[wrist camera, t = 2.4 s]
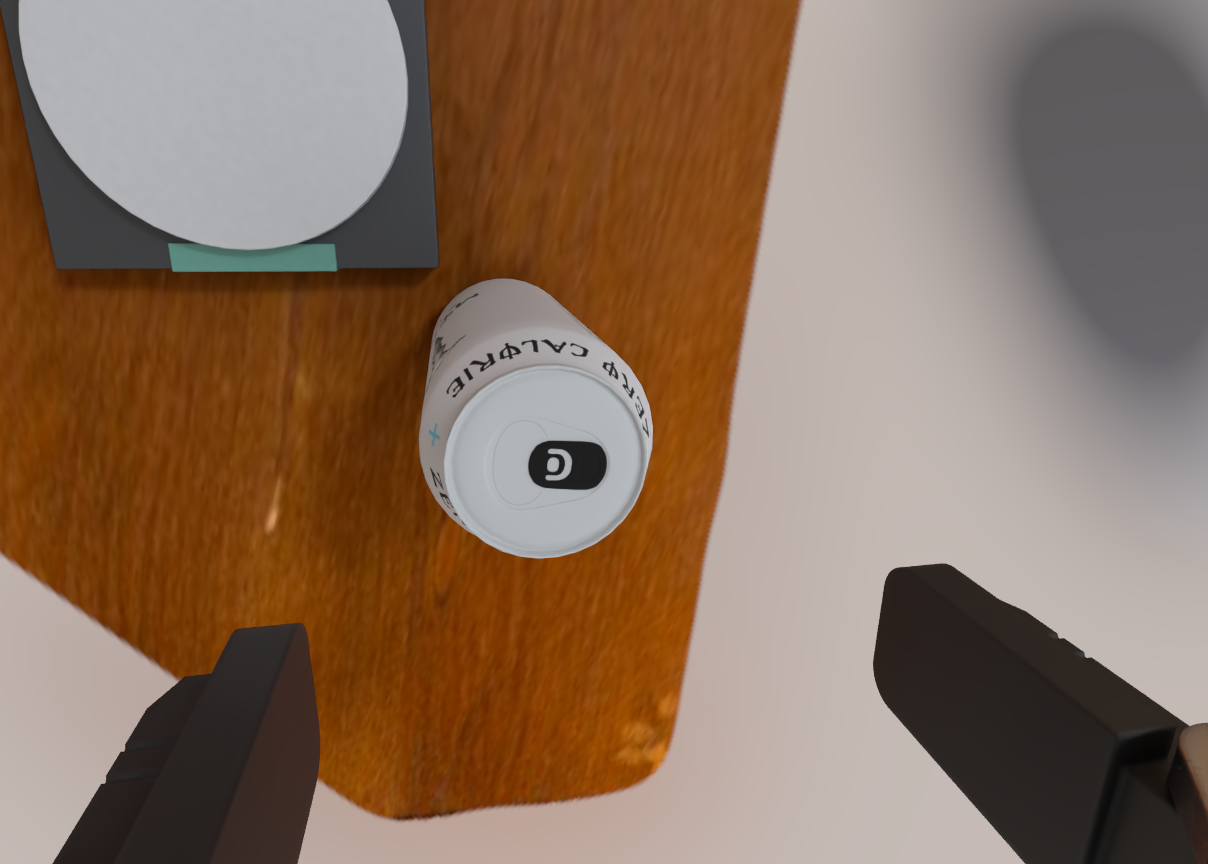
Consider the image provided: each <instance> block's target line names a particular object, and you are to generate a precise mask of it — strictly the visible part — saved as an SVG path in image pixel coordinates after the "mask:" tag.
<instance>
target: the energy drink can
mask: <svg viewBox="0 0 1208 864" xmlns="http://www.w3.org/2000/svg"><path fill="white" fill-rule="evenodd" d="M652 437H653V425H652V419H651V412H650V406H649V404H648V401H647V398H646V396H645V393H644V390H643V388H642V386H641V384H640V382H639V381H638V379H637V378H636V376H635V375H634V373H633V372H632V370H631V368H630V367H629V366H628V365H627V364H626V363H625V362H624V361H623V360H622V359H621V358H620V357H619V356H618V355H617V354H616V353H615V352H614V351H613V350H612V349H611V348H609V347H608V346H607V345H606V344H605V343H604V342H603V341H601V340H600V339H599V338H598V337H597V336H596V335H595V334H594V333H592V332H591V331H590V330H589V329H588V328H587V327H586V326H584V325H583V324H582V323H581V322H580V321H579V320H578V319H577V318H575V317H574V316H573V315H572V314H571V313H570V312H569V311H567V310H566V309H565V308H564V307H563V306H562V305H561V304H560V303H558V302H557V301H556V300H555V299H554V298H553V297H552V296H550V295H549V294H548V293H546V292H545V291H543V290H542V289H540V288H539V287H537V286H534V285H532V284H529V283H527V282H524V281H519V280H514V279H493V280H488V281H483V282H480V283H477V284H475V285H473V286H470V287H468V288H467V289H465V290H464V291H462V292H461V293H459V294H458V295H456V296H455V297H454V298H453V299H452V300H451V302H450V303H449V304H448V305H447V306H446V307H445V309H444V310H443V312H442V313H441V315H440V317H439V318H438V321H437V323H436V326H435V329H434V332H433V338H432V344H431V351H430V359H429V366H428V373H427V381H426V388H425V395H424V403H423V410H422V417H421V425H420V432H419V449H420V461H421V465H422V468H423V472H424V475H425V479H426V482H427V484H428V486H429V487H430V489H431V491H432V493H433V495H434V497H435V499H436V501H437V502H438V503H439V504H440V505H441V507H442V508H443V509H444V510H445V511H446V513H447V514H448V515H449V516H450V517H451V518H452V519H453V520H454V521H456V522H457V523H458V524H459V525H461V526H462V527H463V528H464V529H466V530H467V531H468V532H470V533H472V534H474V535H476V536H477V537H479V538H480V539H481V540H482V541H484V542H485V543H487V544H489V545H491V546H493V547H495V548H497V549H499V550H501V551H503V552H507V553H510V554H513V555H517V556H521V557H531V558H550V557H560V556H564V555H567V554H571V553H575V552H578V551H580V550H582V549H585V548H587V547H589V546H591V545H593V544H595V543H597V542H598V541H600V540H601V539H603V538H604V537H605V536H607V535H608V534H610V533H611V532H612V531H613V530H614V529H615V528H616V527H617V526H618V525H619V524H620V523H621V522H622V521H623V520H624V519H625V517H626V516H627V515H628V513H629V512H630V510H631V509H632V508H633V506H634V505H635V503H636V500H637V498H638V496H639V494H640V492H641V489H642V487H643V483H644V479H645V475H646V471H647V467H648V463H649V459H650V455H651V451H652Z"/></svg>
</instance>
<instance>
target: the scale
mask: <svg viewBox="0 0 1208 864" xmlns="http://www.w3.org/2000/svg"><path fill="white" fill-rule="evenodd" d="M0 8H1V13H2V18H3V22H4V27H5V31H6V36H7V41H8V45H9V50H10V55H11V59H12V64H13V69H14V73H15V78H16V83H17V87H18V92H19V97H20V101H21V106H22V111H23V115H24V120H25V125H26V129H27V134H28V139H29V143H30V148H31V153H32V157H33V162H34V167H35V171H36V176H37V181H38V185H39V190H40V195H41V199H42V204H43V209H44V213H45V218H46V223H47V227H48V232H49V237H50V241H51V246H52V251H53V255H54V260H55V265H56V268H57V269H172V271H173V272H297V271H338V270H339V269H341V268H438V267H439V245H438V227H437V208H436V190H435V172H434V154H433V135H432V117H431V99H430V80H429V62H428V44H427V26H426V7H425V0H0Z"/></svg>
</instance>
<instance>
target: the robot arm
mask: <svg viewBox="0 0 1208 864" xmlns="http://www.w3.org/2000/svg"><path fill="white" fill-rule="evenodd" d="M873 670H874V677H875V681H876V684H877V688H878V690H879V693H880V695H881V697H882V699H883V701H884V702H885V704H886V705H887V706H888V708H890V710H891V711H892V712H893V713H894V714H895V716H896V717H897V718H898V719H899V720H900V721H901V722H902V724H903V725H904V726H905V727H906V728H907V729H908V730H909V731H910V733H911V734H912V735H913V736H914V737H915V738H916V739H917V741H918V742H919V743H920V744H921V745H922V746H923V748H924V749H925V750H926V751H927V752H928V753H929V754H930V755H931V757H932V758H933V759H934V760H935V761H936V762H937V763H938V765H939V766H940V767H941V768H942V769H943V770H944V771H945V773H946V774H947V775H948V776H949V777H950V778H951V779H952V781H953V782H954V783H955V784H956V785H957V786H958V787H959V788H960V790H961V791H962V792H963V793H964V794H965V795H966V796H967V798H968V799H969V800H970V801H971V802H972V803H973V805H975V807H976V808H977V809H978V810H979V811H980V812H981V814H982V815H983V816H984V817H985V818H986V819H987V820H988V822H989V823H990V824H991V825H992V826H993V827H994V828H995V830H996V831H997V832H998V833H999V834H1000V835H1001V836H1002V838H1003V839H1004V840H1005V841H1006V842H1007V843H1008V844H1009V845H1010V846H1011V848H1012V849H1013V850H1014V851H1015V852H1016V853H1017V855H1018V856H1019V857H1020V858H1021V859H1022V860H1023V862H1024V863H1025V864H1208V723H1201V724H1195V725H1192V726H1189V725H1187V724H1186V723H1184V722H1183V721H1181V720H1180V719H1179V718H1177V717H1175V716H1174V715H1173V714H1171V713H1170V712H1169V711H1167V710H1166V709H1164V708H1163V707H1161V706H1160V705H1159V704H1157V703H1156V702H1154V701H1152V700H1151V699H1150V698H1149V697H1147V696H1146V695H1144V694H1143V693H1141V692H1140V691H1139V690H1137V689H1136V688H1134V687H1133V686H1131V685H1130V684H1129V683H1127V682H1126V681H1124V680H1123V679H1121V678H1120V677H1118V676H1117V675H1116V674H1114V673H1113V672H1111V671H1110V670H1109V669H1107V668H1106V667H1104V666H1103V665H1102V664H1100V663H1099V662H1097V661H1095V660H1094V659H1093V658H1086V657H1085V655H1084V652H1083V651H1081V650H1080V649H1079V648H1077V647H1076V646H1074V645H1073V644H1071V643H1070V642H1069V641H1067V640H1066V639H1064V638H1062V639H1059V638H1058V635H1057V633H1056V632H1054V631H1053V630H1052V629H1050V628H1049V627H1047V626H1046V625H1044V624H1043V623H1042V622H1040V621H1039V620H1037V619H1036V618H1034V617H1033V616H1032V615H1030V614H1029V613H1027V612H1026V611H1024V610H1021V609H1019V608H1017V607H1015V606H1012V605H1010V604H1008V603H1006V602H1003V601H1001V600H999V599H998V598H996V597H995V596H993V595H992V594H991V593H989V592H988V591H986V590H985V589H984V588H982V587H981V586H979V585H978V584H976V583H975V582H974V581H972V580H971V579H969V578H968V577H967V576H965V575H964V574H962V573H961V572H960V571H958V570H957V569H956V568H954V567H952V566H951V565H948V564H933V565H921V566H911V567H900V568H895V569H893V570H892V571H891V572H890V573H889V574H888V576H887V578H886V581H885V585H884V592H883V599H882V605H881V612H880V619H879V625H878V632H877V640H876V646H875V652H874V660H873ZM319 759H320V731H319V721H318V713H317V706H316V698H315V690H314V682H313V675H312V667H311V659H310V651H309V643H308V637H307V632H306V629H305V627H304V625H303V624H302V623H294V624H283V625H273V626H262V627H252V628H241V629H236V630H235V631H234V632H233V633H232V635H231V637H230V639H229V641H228V643H227V645H226V646H225V648H224V650H223V652H222V654H221V656H220V658H219V660H218V662H217V664H216V666H215V668H214V670H213V672H212V674H207V675H197V676H188V677H184V678H183V679H182V680H181V681H179V682H178V683H177V684H176V685H175V686H174V687H172V688H171V689H170V690H169V691H167V692H166V693H165V694H164V695H163V696H162V697H160V698H159V699H158V700H157V701H156V702H154V703H153V704H152V705H151V706H150V707H149V708H147V710H146V711H145V713H144V715H143V716H142V718H141V719H140V721H139V723H138V724H137V726H136V728H135V729H134V731H133V733H132V734H131V736H130V738H129V739H128V741H127V742H126V744H125V751H124V752H120V754H119V756H118V757H117V759H116V760H115V762H114V764H113V765H112V767H111V769H110V770H109V772H108V774H107V775H106V783H105V784H101V785H100V787H99V788H98V790H97V792H96V793H95V795H94V797H93V798H92V800H91V802H90V803H89V805H88V807H87V808H86V810H85V811H84V813H83V815H82V816H81V818H80V820H79V821H78V823H77V824H76V826H75V828H74V830H73V831H72V833H71V834H70V836H69V838H68V839H67V841H66V843H65V844H64V846H63V848H62V849H61V851H60V853H59V854H58V856H57V857H56V859H55V861H54V863H53V864H297V863H298V859H299V854H300V851H301V846H302V842H303V837H304V833H305V829H306V825H307V820H308V817H309V812H310V808H311V804H312V799H313V795H314V791H315V787H316V782H317V777H318V770H319Z"/></svg>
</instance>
